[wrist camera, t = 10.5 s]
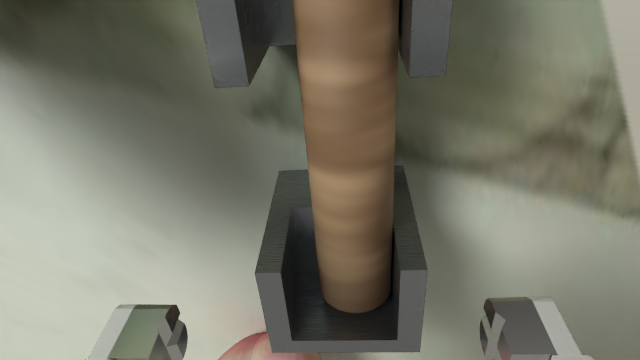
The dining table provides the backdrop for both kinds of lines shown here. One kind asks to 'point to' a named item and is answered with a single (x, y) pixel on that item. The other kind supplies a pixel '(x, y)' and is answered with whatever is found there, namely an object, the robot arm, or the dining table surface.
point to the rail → (350, 142)
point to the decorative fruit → (262, 350)
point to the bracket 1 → (278, 29)
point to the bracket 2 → (304, 287)
